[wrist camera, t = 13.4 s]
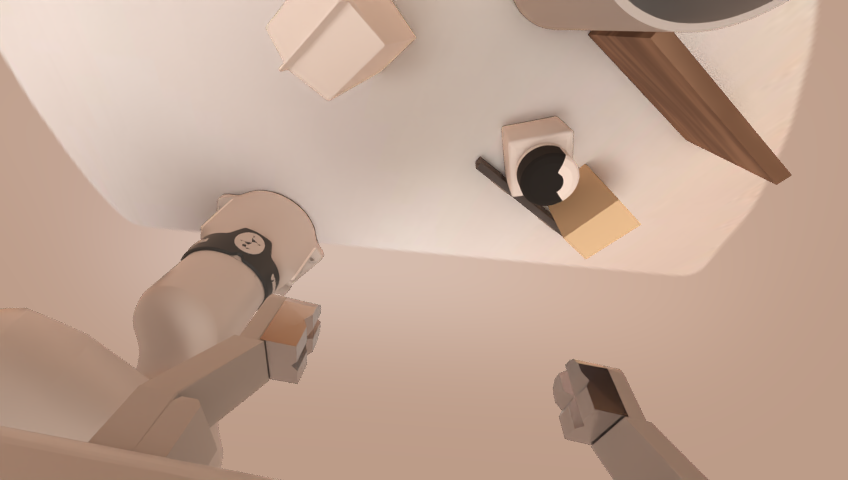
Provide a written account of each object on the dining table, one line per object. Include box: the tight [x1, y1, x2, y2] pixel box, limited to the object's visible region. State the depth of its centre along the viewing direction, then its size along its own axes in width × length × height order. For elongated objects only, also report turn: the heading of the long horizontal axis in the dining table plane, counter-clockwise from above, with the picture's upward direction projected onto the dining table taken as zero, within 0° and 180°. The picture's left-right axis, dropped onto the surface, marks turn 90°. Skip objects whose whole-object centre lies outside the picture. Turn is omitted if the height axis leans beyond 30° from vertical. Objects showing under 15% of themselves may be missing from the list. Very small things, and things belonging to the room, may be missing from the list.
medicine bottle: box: [501, 116, 580, 206], centre depth 38 cm, size 7×7×12 cm
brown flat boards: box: [475, 30, 791, 236], centre depth 37 cm, size 20×19×14 cm
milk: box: [266, 0, 416, 101], centre depth 28 cm, size 6×6×22 cm
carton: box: [548, 164, 641, 259], centre depth 41 cm, size 5×7×11 cm
